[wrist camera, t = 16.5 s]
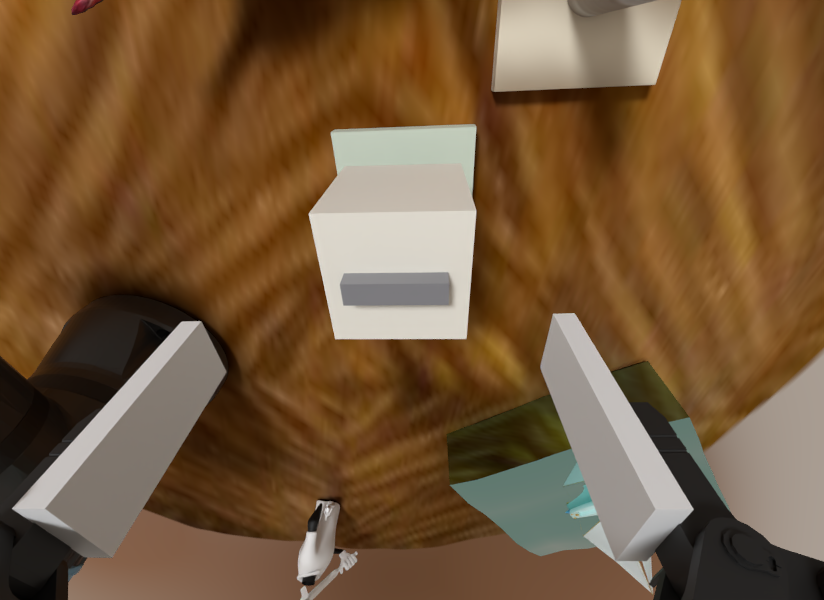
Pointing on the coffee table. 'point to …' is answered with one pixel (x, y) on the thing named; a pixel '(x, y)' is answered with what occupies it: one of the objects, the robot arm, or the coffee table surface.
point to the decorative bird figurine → (83, 5)
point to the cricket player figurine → (321, 549)
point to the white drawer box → (397, 251)
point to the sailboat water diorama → (552, 470)
